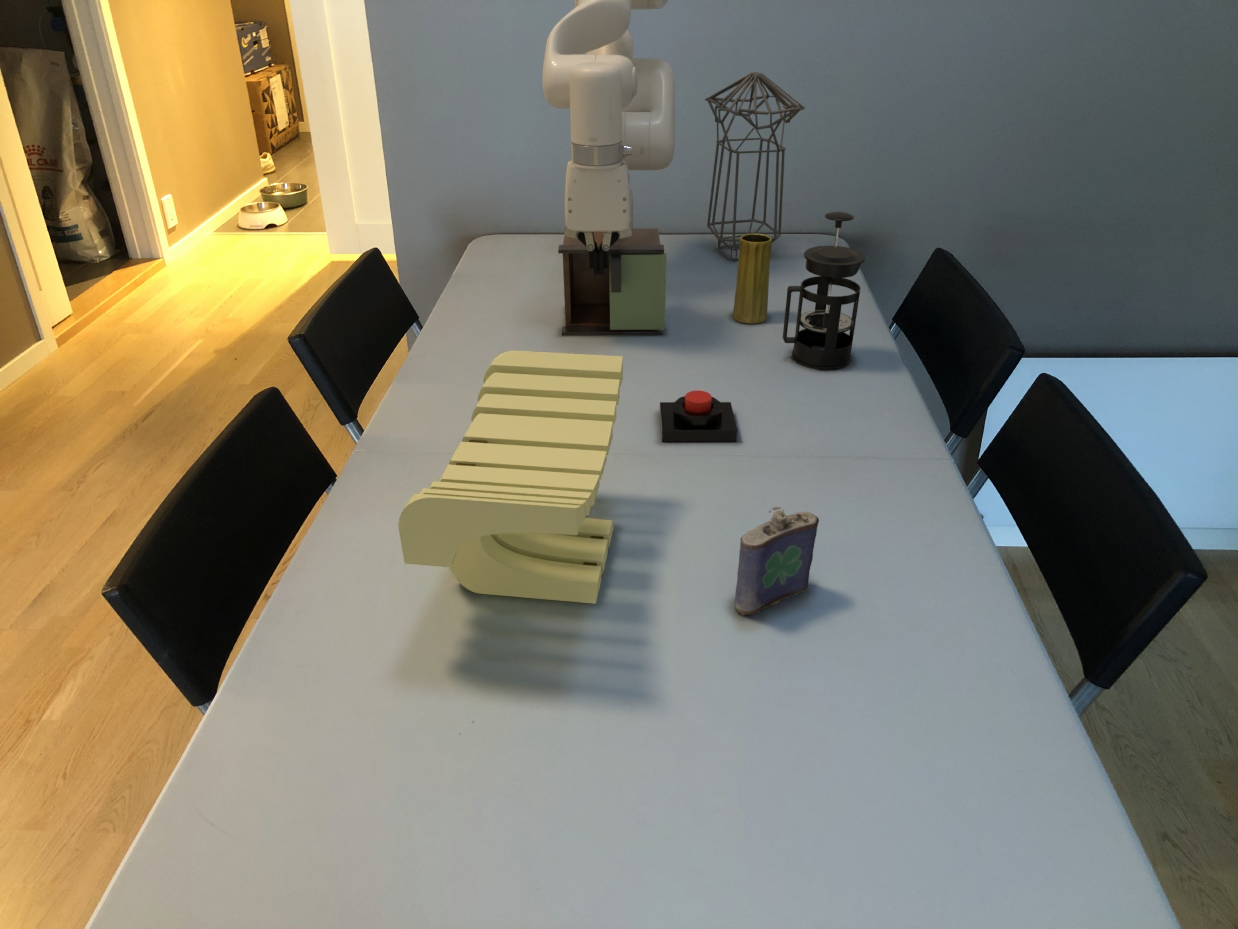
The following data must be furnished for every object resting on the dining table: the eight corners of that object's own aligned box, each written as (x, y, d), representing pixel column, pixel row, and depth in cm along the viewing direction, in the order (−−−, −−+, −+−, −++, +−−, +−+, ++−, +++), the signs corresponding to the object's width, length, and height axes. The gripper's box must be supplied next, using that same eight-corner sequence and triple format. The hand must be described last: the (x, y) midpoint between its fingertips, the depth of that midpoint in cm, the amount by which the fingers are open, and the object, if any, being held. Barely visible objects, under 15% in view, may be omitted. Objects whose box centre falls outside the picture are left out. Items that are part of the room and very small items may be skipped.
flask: (743, 619, 86) (752, 533, 81) (726, 603, 89) (733, 517, 83) (814, 589, 90) (827, 504, 85) (795, 573, 93) (806, 490, 87)
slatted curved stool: (497, 479, 109) (485, 348, 99) (623, 488, 107) (622, 356, 97) (419, 647, 83) (392, 494, 74) (582, 663, 82) (576, 508, 72)
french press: (847, 345, 142) (868, 204, 130) (862, 370, 134) (885, 222, 122) (776, 345, 142) (790, 205, 130) (786, 370, 134) (802, 223, 122)
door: (609, 338, 143) (608, 262, 136) (610, 328, 147) (609, 253, 140) (665, 338, 143) (667, 262, 136) (664, 327, 147) (666, 252, 140)
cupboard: (561, 335, 146) (558, 249, 138) (565, 307, 157) (562, 226, 149) (662, 335, 146) (664, 249, 138) (659, 307, 157) (661, 225, 149)
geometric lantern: (695, 244, 187) (703, 68, 169) (763, 238, 190) (778, 65, 172) (719, 268, 174) (731, 80, 156) (792, 261, 177) (812, 76, 159)
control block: (661, 442, 116) (662, 419, 114) (659, 413, 123) (660, 391, 121) (736, 442, 116) (738, 419, 114) (730, 413, 123) (731, 391, 121)
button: (685, 414, 116) (685, 402, 115) (683, 401, 119) (684, 390, 118) (712, 414, 116) (712, 402, 115) (709, 401, 119) (710, 390, 118)
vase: (769, 324, 150) (776, 243, 142) (733, 324, 150) (739, 243, 142) (764, 311, 155) (771, 232, 147) (730, 310, 155) (735, 232, 148)
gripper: (646, 148, 132) (645, 264, 142) (549, 148, 132) (554, 264, 142) (647, 159, 126) (645, 280, 135) (544, 159, 126) (550, 280, 136)
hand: (599, 272), depth 139 cm, fingers closed
